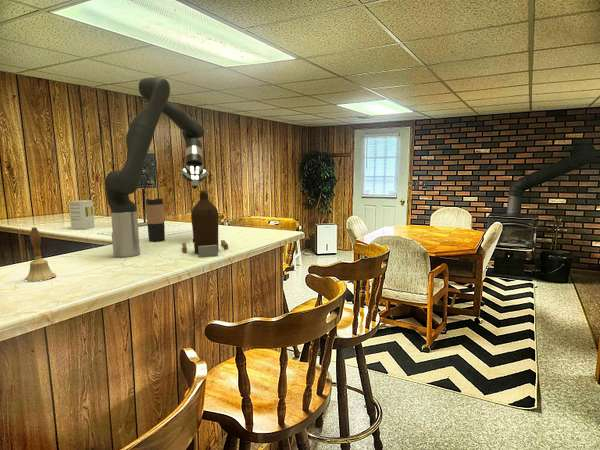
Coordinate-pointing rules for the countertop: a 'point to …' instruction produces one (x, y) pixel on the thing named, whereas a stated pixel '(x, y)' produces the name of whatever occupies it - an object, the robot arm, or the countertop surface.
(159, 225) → the travel mug
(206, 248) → the block
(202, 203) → the olive oil
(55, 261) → the countertop surface
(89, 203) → the supplement box
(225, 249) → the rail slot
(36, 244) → the hand bell
